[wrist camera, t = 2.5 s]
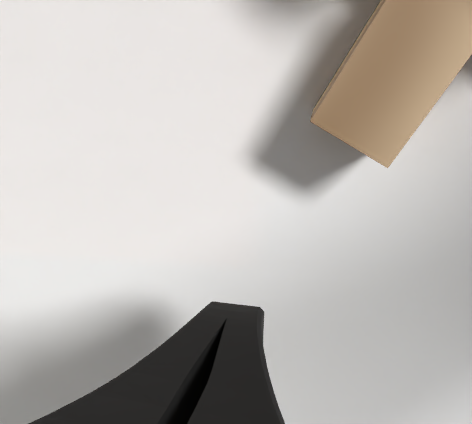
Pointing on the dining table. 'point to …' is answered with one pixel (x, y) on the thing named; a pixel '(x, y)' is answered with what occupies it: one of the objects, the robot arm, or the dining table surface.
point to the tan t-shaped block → (395, 74)
